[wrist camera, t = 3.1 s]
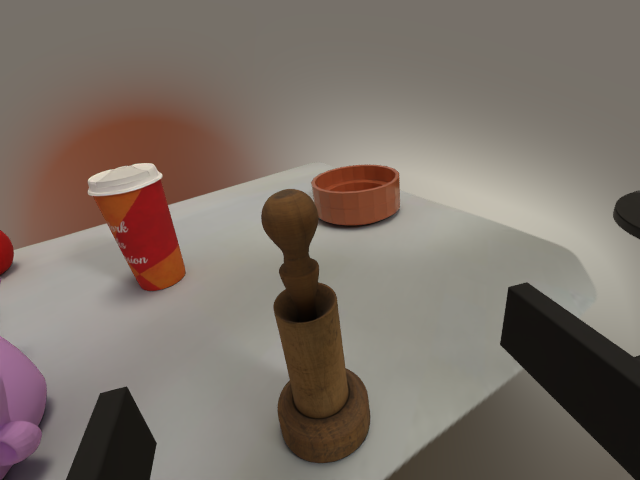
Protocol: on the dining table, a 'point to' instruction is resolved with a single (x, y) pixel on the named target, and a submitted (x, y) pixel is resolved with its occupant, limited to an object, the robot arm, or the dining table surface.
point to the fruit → (5, 252)
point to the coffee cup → (140, 223)
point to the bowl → (356, 194)
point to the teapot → (19, 406)
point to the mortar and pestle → (312, 343)
